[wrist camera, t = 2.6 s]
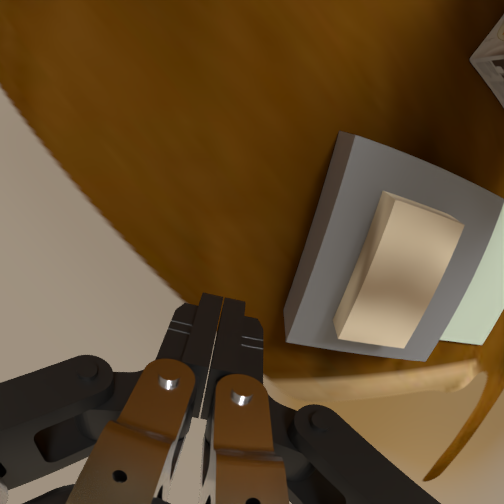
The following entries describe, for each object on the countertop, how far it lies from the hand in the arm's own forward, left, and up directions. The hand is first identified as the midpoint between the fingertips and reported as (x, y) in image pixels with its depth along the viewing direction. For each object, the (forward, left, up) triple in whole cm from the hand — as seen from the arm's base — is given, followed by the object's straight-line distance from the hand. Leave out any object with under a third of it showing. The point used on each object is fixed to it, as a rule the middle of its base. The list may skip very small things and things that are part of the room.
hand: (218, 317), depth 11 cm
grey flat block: (0, +11, -12) cm, 16 cm away
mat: (0, +22, -12) cm, 25 cm away
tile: (0, +10, -8) cm, 13 cm away
